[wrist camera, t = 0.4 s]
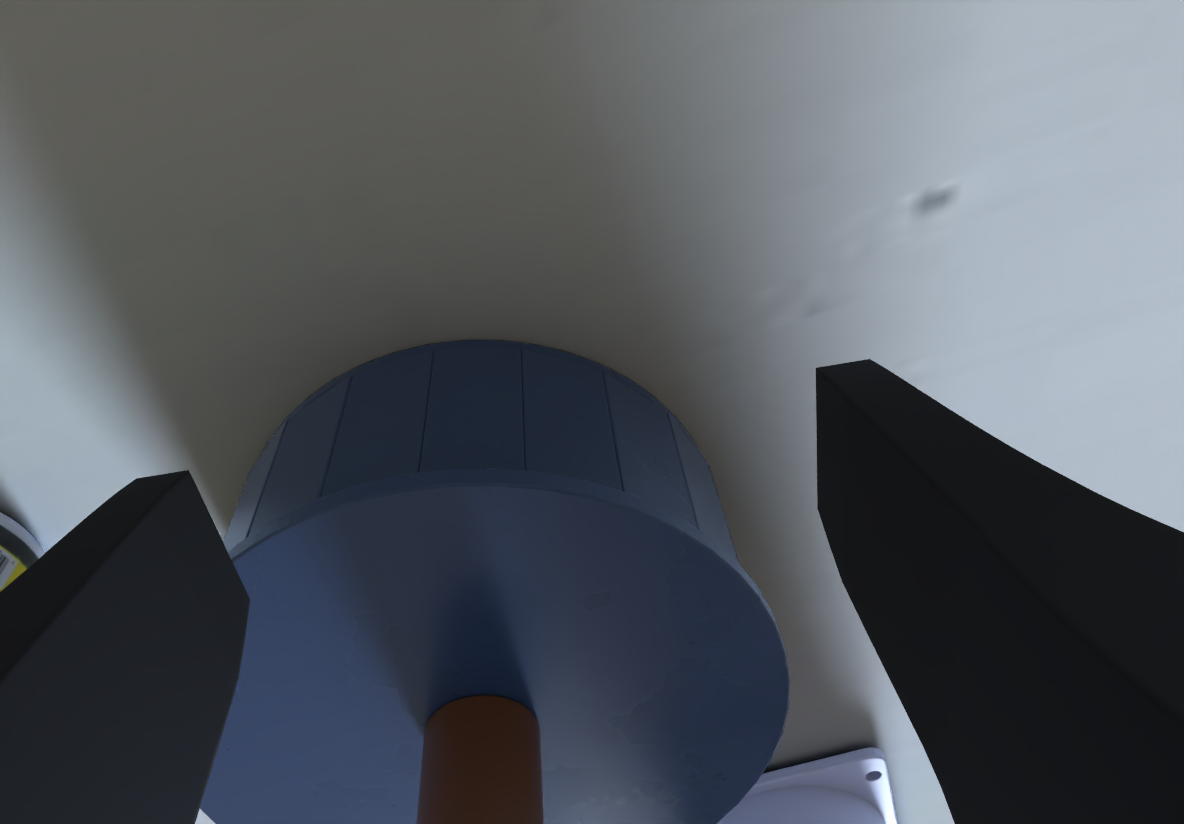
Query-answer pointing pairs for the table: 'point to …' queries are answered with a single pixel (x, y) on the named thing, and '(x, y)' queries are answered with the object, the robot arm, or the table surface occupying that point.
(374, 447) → the tin
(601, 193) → the table surface
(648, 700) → the tin lid
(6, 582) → the supplement bottle
